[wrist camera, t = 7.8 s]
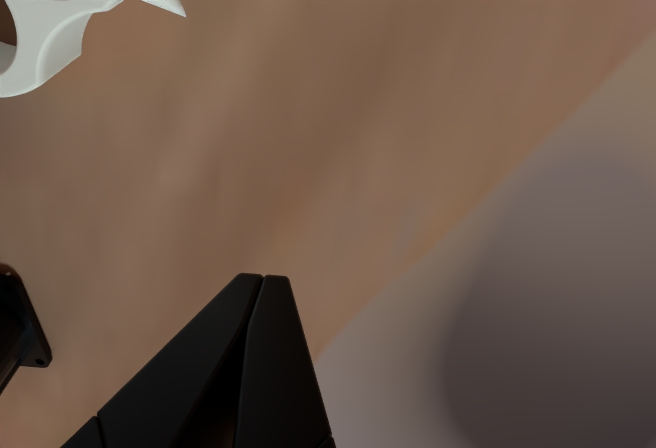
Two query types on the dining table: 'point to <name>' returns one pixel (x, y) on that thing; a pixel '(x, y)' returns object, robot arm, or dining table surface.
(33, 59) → the white spiky piece
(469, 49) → the dining table surface
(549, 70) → the dining table surface
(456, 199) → the dining table surface
